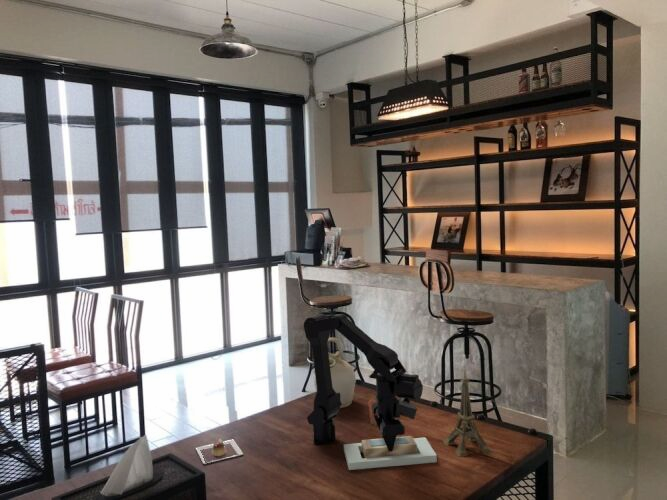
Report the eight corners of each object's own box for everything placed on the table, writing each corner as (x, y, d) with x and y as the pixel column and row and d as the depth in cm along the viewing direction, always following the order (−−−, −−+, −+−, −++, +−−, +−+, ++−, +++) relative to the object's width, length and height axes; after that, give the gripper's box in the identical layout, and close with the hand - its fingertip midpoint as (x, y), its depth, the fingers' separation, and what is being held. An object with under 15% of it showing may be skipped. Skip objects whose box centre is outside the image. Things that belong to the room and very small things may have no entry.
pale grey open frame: (348, 470, 150) (348, 463, 150) (344, 450, 162) (343, 444, 162) (436, 462, 152) (436, 455, 152) (425, 443, 164) (425, 437, 164)
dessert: (203, 467, 157) (202, 451, 156) (195, 451, 168) (194, 436, 167) (243, 457, 162) (242, 442, 161) (233, 442, 173) (232, 427, 172)
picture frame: (365, 459, 153) (364, 448, 153) (362, 449, 159) (361, 439, 159) (417, 454, 155) (416, 443, 154) (411, 445, 161) (411, 435, 160)
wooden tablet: (401, 427, 179) (401, 422, 178) (371, 428, 179) (370, 423, 179) (393, 398, 205) (393, 394, 205) (367, 399, 205) (367, 395, 205)
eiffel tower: (442, 442, 165) (440, 362, 163) (473, 436, 168) (471, 358, 166) (459, 457, 155) (456, 372, 153) (492, 451, 157) (490, 367, 155)
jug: (342, 413, 191) (339, 344, 189) (307, 406, 200) (303, 340, 198) (364, 399, 204) (361, 334, 202) (329, 393, 212) (326, 330, 210)
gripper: (422, 403, 147) (423, 458, 148) (406, 381, 166) (408, 431, 167) (381, 406, 146) (384, 462, 147) (370, 384, 165) (372, 433, 166)
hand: (388, 446), depth 157 cm, fingers closed on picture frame, 6 cm apart
